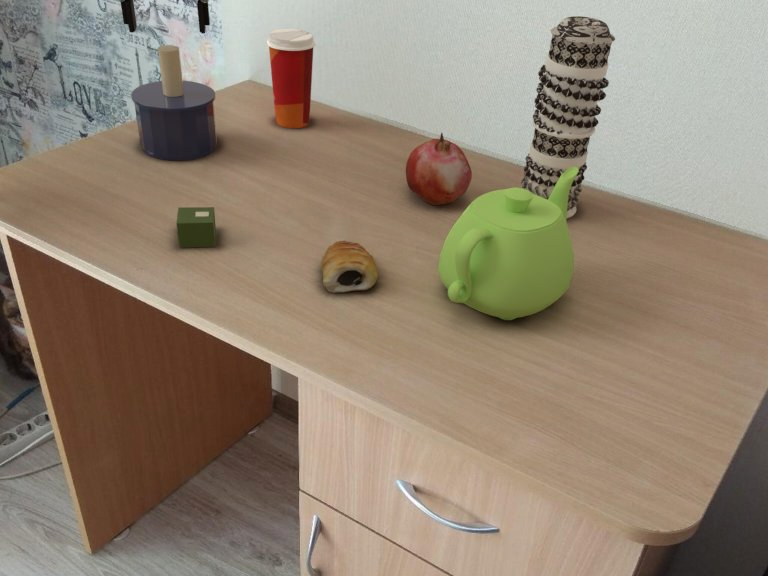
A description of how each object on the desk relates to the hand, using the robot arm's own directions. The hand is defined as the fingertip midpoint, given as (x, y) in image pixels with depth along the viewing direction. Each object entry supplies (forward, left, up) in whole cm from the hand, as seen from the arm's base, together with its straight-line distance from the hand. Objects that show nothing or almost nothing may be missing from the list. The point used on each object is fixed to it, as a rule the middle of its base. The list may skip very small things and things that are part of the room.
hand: (168, 30), depth 110 cm
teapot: (+41, -44, -17) cm, 62 cm away
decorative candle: (+53, -22, -17) cm, 60 cm away
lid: (0, 0, -9) cm, 9 cm away
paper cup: (+18, +10, -17) cm, 27 cm away
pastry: (+22, -40, -17) cm, 49 cm away
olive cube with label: (+4, -30, -17) cm, 35 cm away
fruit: (+37, -19, -17) cm, 45 cm away
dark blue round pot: (0, 0, -17) cm, 17 cm away
